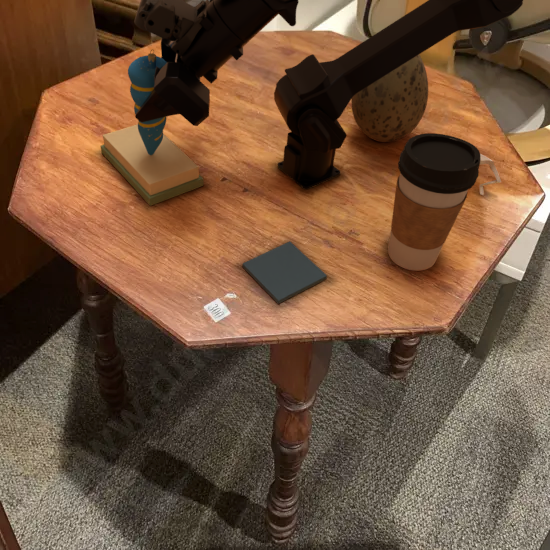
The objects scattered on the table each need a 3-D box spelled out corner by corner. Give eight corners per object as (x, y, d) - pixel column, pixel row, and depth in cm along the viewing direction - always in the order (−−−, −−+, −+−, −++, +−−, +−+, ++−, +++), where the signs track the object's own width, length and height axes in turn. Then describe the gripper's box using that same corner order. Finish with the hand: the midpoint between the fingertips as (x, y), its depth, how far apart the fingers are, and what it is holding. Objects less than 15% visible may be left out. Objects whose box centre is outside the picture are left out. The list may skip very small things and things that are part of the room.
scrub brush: (152, 136, 88) (150, 118, 86) (203, 185, 81) (203, 167, 79) (101, 152, 85) (98, 134, 82) (150, 206, 77) (148, 187, 75)
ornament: (123, 155, 79) (117, 51, 67) (146, 135, 82) (144, 32, 70) (157, 172, 78) (156, 69, 66) (179, 151, 81) (182, 49, 69)
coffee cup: (430, 289, 70) (467, 183, 59) (365, 258, 73) (389, 152, 62) (457, 249, 75) (495, 145, 64) (395, 222, 78) (422, 118, 67)
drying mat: (289, 244, 73) (289, 241, 73) (326, 279, 70) (327, 275, 69) (242, 266, 70) (242, 263, 70) (278, 304, 67) (278, 300, 66)
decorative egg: (332, 127, 93) (345, 30, 82) (388, 112, 97) (408, 18, 86) (372, 164, 86) (393, 64, 76) (431, 147, 91) (458, 50, 80)
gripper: (182, -65, 69) (98, 27, 76) (169, -2, 56) (69, 103, 63) (249, 7, 75) (165, 87, 82) (252, 80, 62) (152, 167, 69)
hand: (140, 107), depth 74 cm, fingers closed on ornament, 5 cm apart
